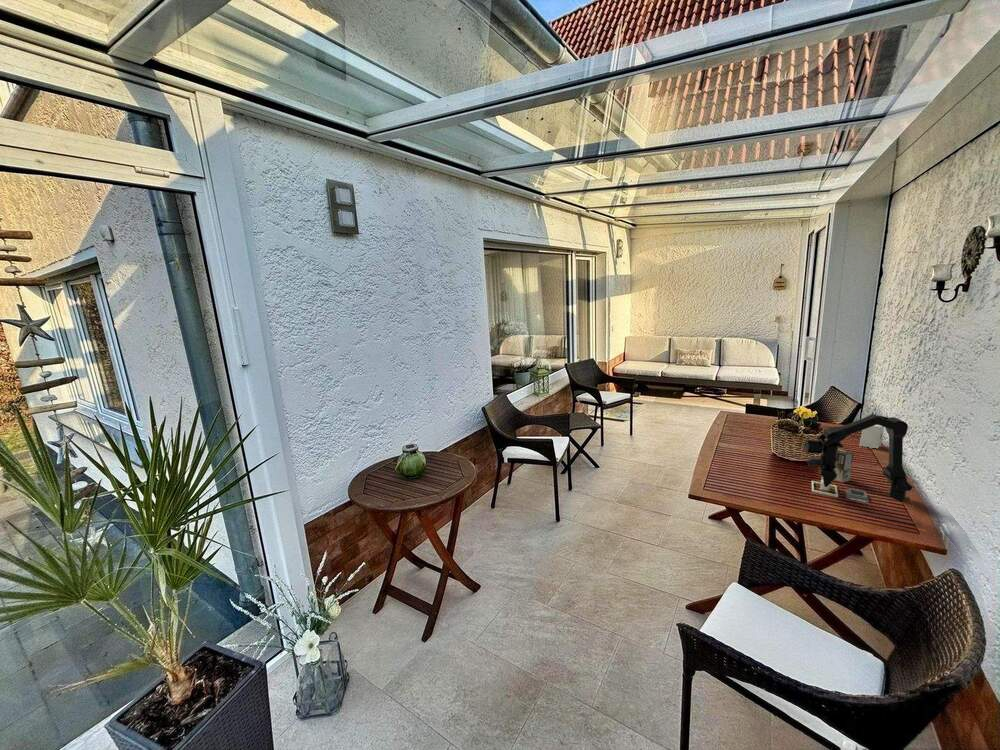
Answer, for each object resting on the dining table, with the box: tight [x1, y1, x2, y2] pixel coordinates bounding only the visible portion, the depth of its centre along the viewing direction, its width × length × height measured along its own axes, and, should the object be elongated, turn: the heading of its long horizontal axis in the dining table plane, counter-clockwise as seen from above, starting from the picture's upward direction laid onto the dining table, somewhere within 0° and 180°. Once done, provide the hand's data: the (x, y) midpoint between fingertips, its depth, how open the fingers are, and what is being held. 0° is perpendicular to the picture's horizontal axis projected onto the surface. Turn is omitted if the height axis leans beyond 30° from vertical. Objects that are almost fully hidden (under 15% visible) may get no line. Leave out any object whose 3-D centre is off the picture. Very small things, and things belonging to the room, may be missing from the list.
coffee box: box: [834, 447, 855, 483], centre depth 217 cm, size 9×6×16 cm
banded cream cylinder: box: [819, 476, 831, 493], centre depth 206 cm, size 4×4×9 cm
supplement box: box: [859, 425, 885, 449], centre depth 258 cm, size 9×9×15 cm
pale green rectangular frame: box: [811, 480, 839, 498], centre depth 207 cm, size 12×10×2 cm
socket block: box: [844, 487, 870, 504], centre depth 200 cm, size 10×8×3 cm
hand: (825, 483), depth 206 cm, fingers open, 8 cm apart
